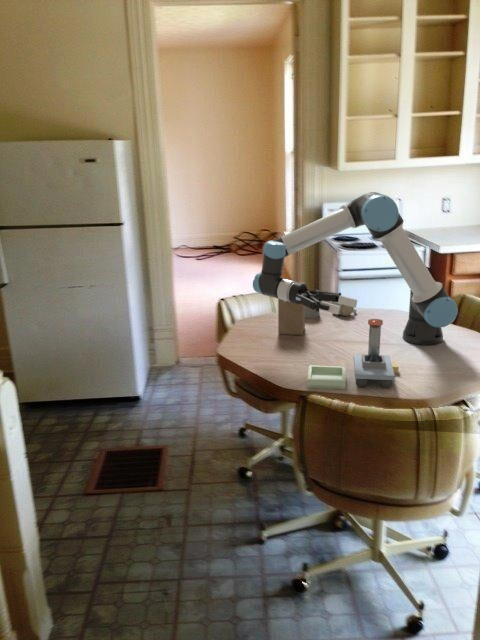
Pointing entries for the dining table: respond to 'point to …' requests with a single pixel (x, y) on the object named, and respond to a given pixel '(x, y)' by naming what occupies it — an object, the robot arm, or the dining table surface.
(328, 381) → the tray
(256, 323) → the dining table surface
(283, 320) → the wooden block
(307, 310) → the grey cylindrical piece
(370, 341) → the pin
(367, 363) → the cart
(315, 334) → the dining table surface
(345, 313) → the ceramic mug
